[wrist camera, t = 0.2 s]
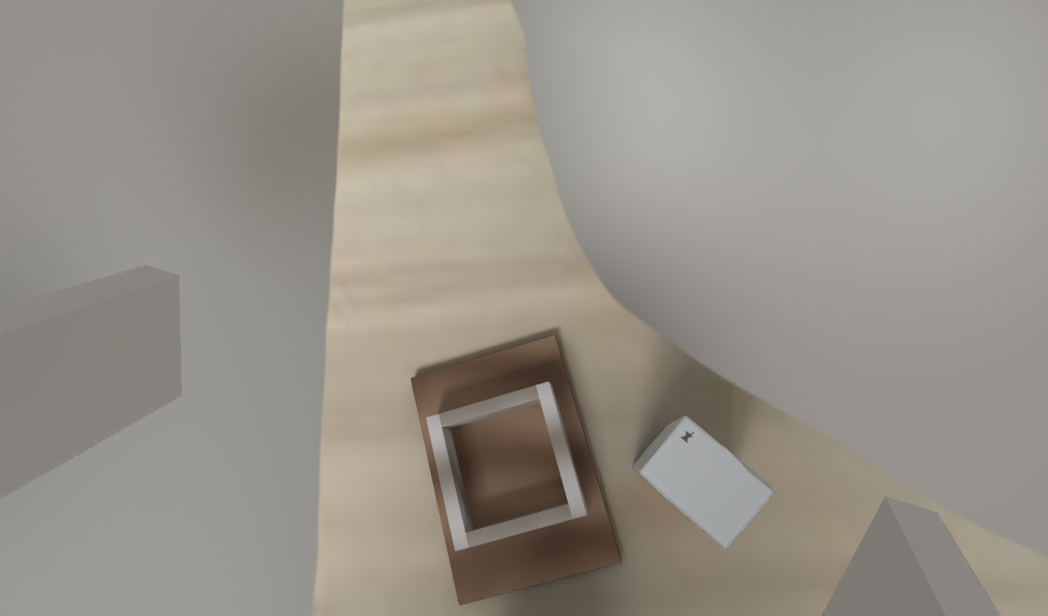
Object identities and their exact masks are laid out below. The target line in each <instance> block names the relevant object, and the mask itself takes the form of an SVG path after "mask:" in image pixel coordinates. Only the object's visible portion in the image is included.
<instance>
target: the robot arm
mask: <svg viewBox="0 0 1048 616" xmlns="http://www.w3.org/2000/svg"><path fill="white" fill-rule="evenodd" d="M179 299H180V297H179V275H176V274H173V273H170V272H166V271H163V270H160V269H157V268H153V267H150V266H147V265H145V266H142V267H138V268H136V269H132V270H128V271H125V272H122V273H118V274H114V275H112V276H108V277H104V278H101V279H97V280H94V281H91V282H87V283H84V284H80V285H77V286H73V287H70V288H66V289H63V290H60V291H56V292H53V293H49V294H46V295H42V296H39V297H36V298H32V299H29V300H25V301H22V302H19V303H15V304H12V305H8V306H5V307H1V308H0V499H1V498H3V497H5V496H6V495H8V494H10V493H12V492H13V491H15V490H17V489H19V488H20V487H22V486H24V485H25V484H28V483H29V482H31V481H33V480H35V479H36V478H38V477H40V476H42V475H43V474H45V473H47V472H49V471H50V470H52V469H54V468H56V467H57V466H59V465H61V464H63V463H65V462H66V461H68V460H70V459H72V458H73V457H75V456H77V455H79V454H80V453H82V452H84V451H86V450H87V449H89V448H91V447H93V446H94V445H96V444H98V443H99V442H101V441H103V440H105V439H107V438H108V437H110V436H112V435H114V434H115V433H117V432H119V431H121V430H122V429H124V428H126V427H128V426H129V425H131V424H133V423H135V422H137V421H138V420H140V419H142V418H143V417H145V416H147V415H148V414H151V413H152V412H154V411H156V410H157V409H159V408H161V407H163V406H165V405H166V404H168V403H170V402H172V401H173V400H175V399H177V398H179V397H180V396H182V388H181V342H180V301H179ZM822 616H1000V614H999V612H998V611H997V609H996V607H995V606H994V604H993V603H992V601H991V599H990V598H989V596H988V594H987V593H986V591H985V590H984V588H983V586H982V585H981V583H980V581H979V580H978V578H977V576H976V575H975V573H974V572H973V570H972V568H971V567H970V565H969V563H968V562H967V560H966V559H965V557H964V555H963V554H962V552H961V550H960V549H959V547H958V545H957V544H956V542H955V541H954V539H953V537H952V536H951V534H950V532H949V531H948V529H947V527H946V526H945V524H944V523H943V521H942V519H941V518H940V516H939V514H938V513H936V512H933V511H930V510H927V509H923V508H920V507H917V506H914V505H911V504H907V503H904V502H901V501H898V500H895V499H891V498H888V497H885V498H884V500H883V502H882V504H881V506H880V508H879V510H878V511H877V513H876V515H875V517H874V519H873V521H872V523H871V525H870V526H869V528H868V530H867V532H866V534H865V536H864V538H863V539H862V541H861V543H860V545H859V547H858V549H857V551H856V553H855V554H854V556H853V558H852V560H851V562H850V564H849V566H848V567H847V569H846V571H845V573H844V575H843V577H842V579H841V581H840V582H839V584H838V586H837V588H836V590H835V592H834V594H833V596H832V597H831V599H830V601H829V603H828V605H827V607H826V609H825V610H824V612H823V614H822Z"/></svg>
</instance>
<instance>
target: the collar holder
mask: <svg viewBox="0 0 1048 616" xmlns="http://www.w3.org/2000/svg"><path fill="white" fill-rule="evenodd" d="M411 382H412V387H413V392H414V396H415V401H416V406H417V410H418V415H419V420H420V424H421V429H422V434H423V438H424V443H425V448H426V452H427V457H428V462H429V466H430V471H431V476H432V480H433V485H434V490H435V494H436V499H437V504H438V508H439V513H440V518H441V522H442V527H443V532H444V536H445V541H446V546H447V550H448V555H449V560H450V564H451V569H452V574H453V578H454V583H455V588H456V592H457V597H458V602H459V605H463V604H467V603H470V602H474V601H478V600H482V599H485V598H489V597H493V596H497V595H500V594H504V593H508V592H511V591H515V590H519V589H523V588H526V587H530V586H534V585H538V584H541V583H545V582H549V581H553V580H556V579H560V578H564V577H568V576H571V575H575V574H579V573H583V572H586V571H590V570H594V569H597V568H601V567H605V566H609V565H612V564H616V563H620V562H621V558H620V555H619V551H618V548H617V545H616V541H615V538H614V534H613V531H612V527H611V524H610V521H609V517H608V514H607V510H606V507H605V504H604V500H603V497H602V493H601V490H600V487H599V483H598V480H597V476H596V473H595V470H594V466H593V463H592V459H591V456H590V453H589V449H588V446H587V442H586V439H585V435H584V432H583V429H582V425H581V422H580V418H579V415H578V412H577V408H576V405H575V401H574V398H573V395H572V391H571V388H570V384H569V381H568V378H567V374H566V371H565V367H564V364H563V361H562V357H561V354H560V350H559V347H558V343H557V340H556V337H555V335H553V336H549V337H546V338H543V339H539V340H536V341H533V342H529V343H526V344H523V345H519V346H516V347H513V348H510V349H506V350H503V351H500V352H496V353H493V354H490V355H486V356H483V357H480V358H476V359H473V360H470V361H466V362H463V363H460V364H456V365H453V366H450V367H446V368H443V369H440V370H436V371H433V372H430V373H426V374H423V375H420V376H416V377H413V378H411Z"/></svg>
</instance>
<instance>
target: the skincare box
mask: <svg viewBox="0 0 1048 616" xmlns="http://www.w3.org/2000/svg"><path fill="white" fill-rule="evenodd" d="M633 468H634V469H635V470H636V471H637V472H638V473H639V474H640V475H641V476H642V477H643V478H644V479H645V480H646V481H647V482H648V483H649V484H651V485H652V486H653V487H654V488H655V489H656V490H657V491H658V492H659V493H660V494H661V495H662V496H663V497H665V498H666V499H667V500H668V501H669V502H670V503H671V504H672V505H673V506H675V507H676V508H677V509H678V510H679V511H680V512H682V513H683V514H684V515H685V516H686V517H687V518H688V519H690V520H691V521H692V522H693V523H694V524H695V525H697V526H698V527H699V528H700V529H701V530H703V531H704V532H705V533H706V534H707V535H709V536H710V537H711V538H712V539H713V540H715V541H716V542H717V543H718V544H719V545H721V546H722V547H723V548H724V549H727V548H728V547H729V546H730V545H731V543H732V542H733V541H734V540H735V539H736V538H737V537H738V535H739V534H740V533H741V532H742V531H743V530H744V528H745V527H746V526H747V525H748V524H749V523H750V521H751V520H752V519H753V518H754V517H755V516H756V515H757V513H758V512H759V511H760V510H761V509H762V507H763V506H764V505H765V504H766V503H767V502H768V500H769V499H770V498H771V497H772V496H773V494H774V490H773V489H772V488H771V487H770V486H769V485H768V484H767V483H765V482H764V481H763V480H762V479H761V478H759V477H758V476H757V475H756V474H755V473H754V472H752V471H751V470H750V469H749V468H748V467H747V466H745V465H744V464H743V463H742V462H741V461H740V460H739V459H738V458H737V457H736V456H735V455H734V454H732V453H731V452H730V451H729V450H728V449H727V448H725V447H724V446H722V445H721V444H720V443H719V442H718V441H717V440H715V439H714V438H713V437H712V436H711V435H709V434H708V433H707V432H706V431H705V430H703V429H702V428H701V427H700V426H699V425H698V424H696V423H695V422H694V421H693V420H691V419H690V418H689V417H688V416H686V415H684V416H683V417H681V418H679V419H677V420H675V421H674V422H672V423H670V424H668V425H667V426H666V427H665V428H664V429H663V430H662V431H661V433H660V434H659V435H658V436H657V437H656V438H655V439H654V441H653V442H652V443H651V444H650V445H649V446H648V448H647V449H646V450H645V451H644V452H643V454H642V455H641V456H640V457H639V459H638V460H637V461H636V462H635V463H634V464H633Z"/></svg>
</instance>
